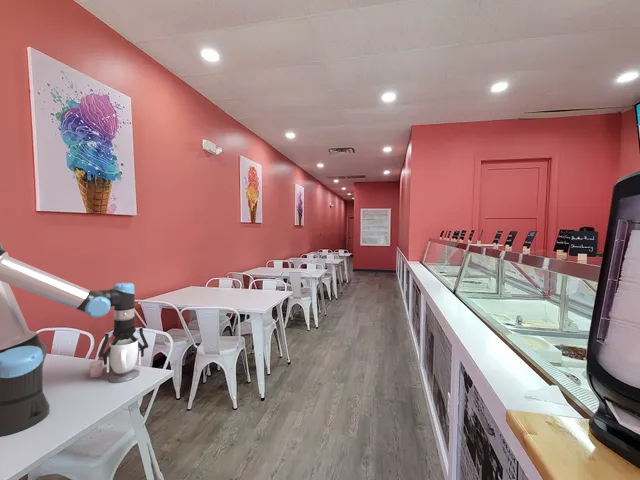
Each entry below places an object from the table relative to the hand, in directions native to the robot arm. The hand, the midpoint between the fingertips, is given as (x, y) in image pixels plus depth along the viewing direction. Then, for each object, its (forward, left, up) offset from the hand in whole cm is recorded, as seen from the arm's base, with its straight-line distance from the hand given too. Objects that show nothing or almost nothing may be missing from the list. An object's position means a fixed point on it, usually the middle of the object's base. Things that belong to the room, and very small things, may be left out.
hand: (124, 367), depth 125 cm
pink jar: (-10, +9, -4) cm, 14 cm away
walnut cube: (-3, +12, -4) cm, 13 cm away
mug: (0, 0, -2) cm, 2 cm away
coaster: (0, 0, -4) cm, 4 cm away
